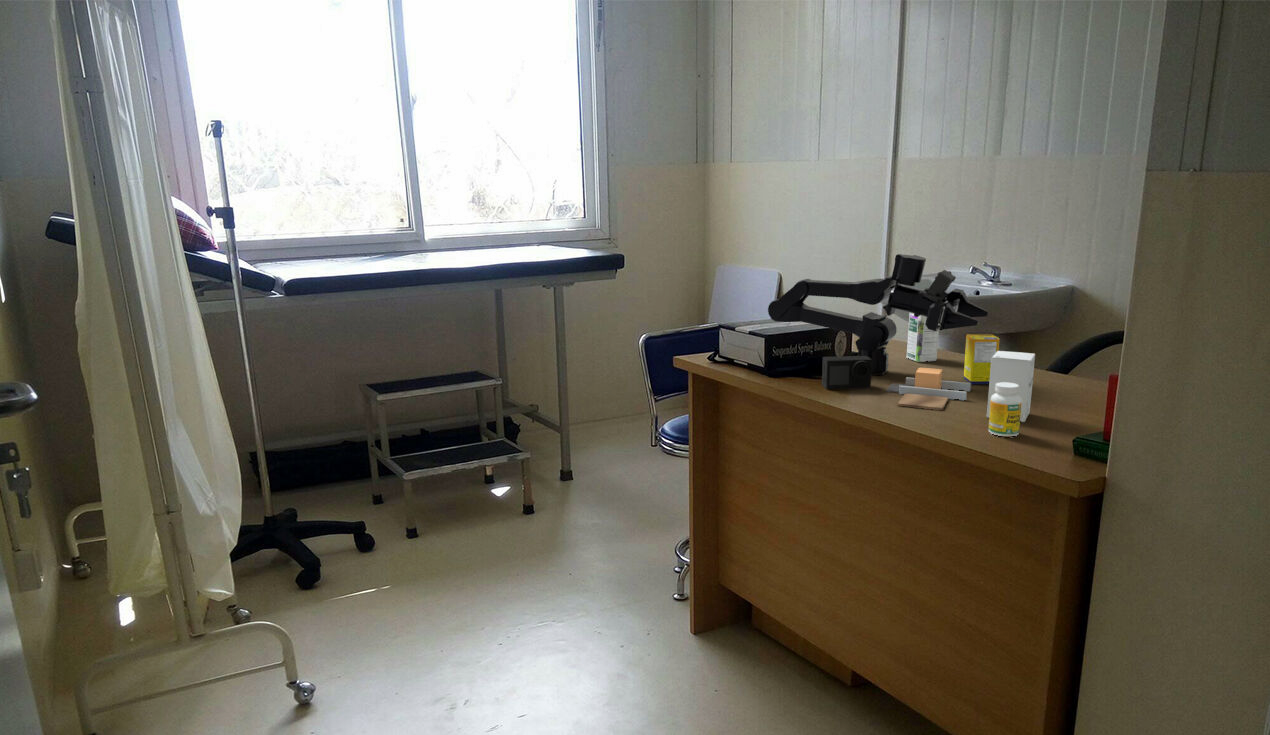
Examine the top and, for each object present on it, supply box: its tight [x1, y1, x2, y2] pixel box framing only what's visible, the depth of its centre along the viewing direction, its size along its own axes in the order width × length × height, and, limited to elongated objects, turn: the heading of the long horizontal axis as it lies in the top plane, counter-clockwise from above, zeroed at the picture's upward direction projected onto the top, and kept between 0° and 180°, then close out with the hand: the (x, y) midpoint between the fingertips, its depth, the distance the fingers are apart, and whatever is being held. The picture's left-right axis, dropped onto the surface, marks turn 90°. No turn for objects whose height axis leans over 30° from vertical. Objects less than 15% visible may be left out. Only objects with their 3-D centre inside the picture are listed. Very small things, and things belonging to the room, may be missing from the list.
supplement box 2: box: [986, 350, 1036, 423], centre depth 165 cm, size 7×7×13 cm
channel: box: [898, 376, 972, 401], centre depth 185 cm, size 14×9×2 cm, turn 62°
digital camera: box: [821, 355, 872, 391], centre depth 191 cm, size 10×5×7 cm, turn 92°
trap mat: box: [885, 382, 915, 394], centre depth 189 cm, size 5×7×1 cm
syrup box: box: [906, 312, 940, 363], centre depth 216 cm, size 6×6×14 cm
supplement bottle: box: [988, 382, 1022, 437], centre depth 154 cm, size 5×5×10 cm
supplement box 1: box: [963, 333, 1000, 385], centre depth 192 cm, size 6×6×11 cm
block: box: [914, 367, 943, 389], centre depth 185 cm, size 5×5×5 cm
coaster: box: [897, 393, 949, 411], centre depth 177 cm, size 9×9×1 cm
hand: (982, 318), depth 187 cm, fingers open, 9 cm apart
